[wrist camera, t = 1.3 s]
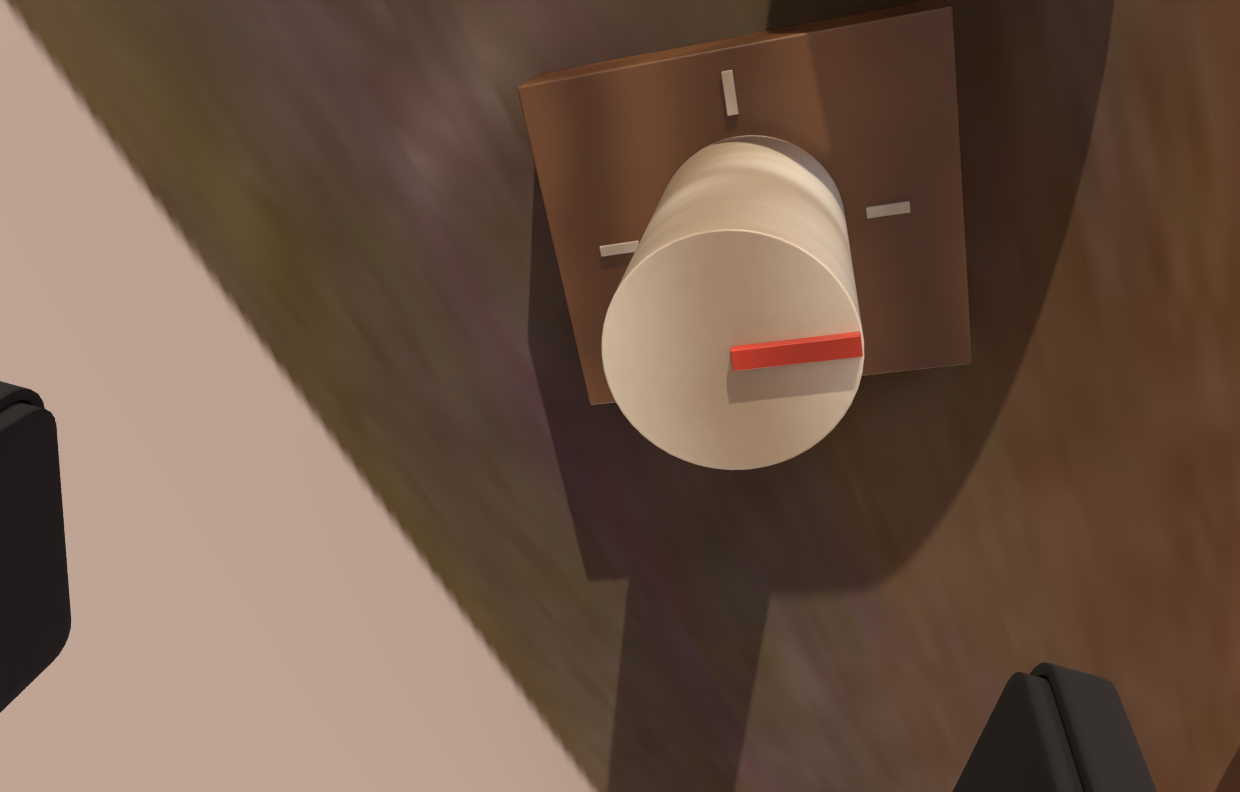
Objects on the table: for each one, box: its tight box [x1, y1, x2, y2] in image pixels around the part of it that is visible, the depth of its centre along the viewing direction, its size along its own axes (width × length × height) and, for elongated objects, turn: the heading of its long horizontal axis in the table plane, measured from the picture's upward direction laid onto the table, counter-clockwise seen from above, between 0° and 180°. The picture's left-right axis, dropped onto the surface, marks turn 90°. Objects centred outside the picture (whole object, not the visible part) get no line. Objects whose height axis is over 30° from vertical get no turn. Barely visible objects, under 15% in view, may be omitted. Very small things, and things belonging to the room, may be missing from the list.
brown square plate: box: [518, 0, 972, 405], centre depth 35 cm, size 14×12×3 cm
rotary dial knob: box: [601, 135, 864, 470], centre depth 29 cm, size 6×6×11 cm
